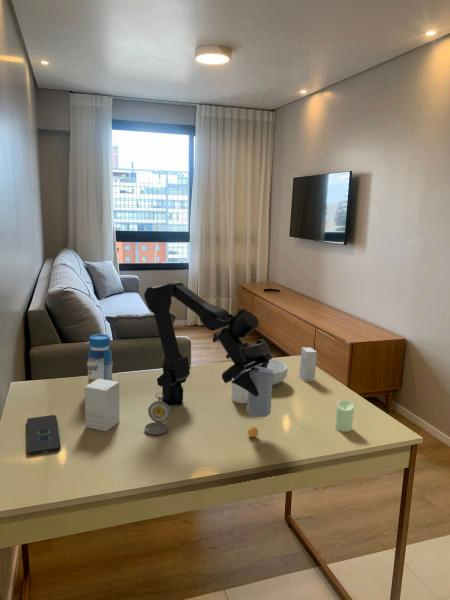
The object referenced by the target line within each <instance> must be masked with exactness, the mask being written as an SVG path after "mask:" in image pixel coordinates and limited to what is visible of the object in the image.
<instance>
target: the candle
mask: <svg viewBox="0 0 450 600" xmlns="http://www.w3.org/2000/svg"><path fill="white" fill-rule="evenodd" d="M354 411H355V405H354V403H353V401H350V400H348V399H341V400H339V401H337V403H336V413H335V423H334V428H335V429H336V430H337V431H339V432H342V433H347V432H351V431H352V430H353V422H354V421H353V420H354Z"/></svg>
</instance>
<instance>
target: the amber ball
mask: <svg viewBox="0 0 450 600" xmlns="http://www.w3.org/2000/svg"><path fill="white" fill-rule="evenodd" d="M258 429H259V428H257V427H255V426H250V427H248V429H247V434H248V436H249V437H250V438H255V437H257V436H258V435H259V430H258Z"/></svg>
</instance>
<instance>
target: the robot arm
mask: <svg viewBox="0 0 450 600" xmlns="http://www.w3.org/2000/svg"><path fill="white" fill-rule="evenodd" d="M143 296H144V297H143V298H144V300H145V302H146V305H147V308H148V309H149V310H150V311H151V312H152V314H153V315H154V318H155V321H156V322H155V323H156V327H157V330H158V334H159V338H160V342H161V347H162V350H163V354H164V360H163V363H162V374H161V375H160V376H159V377H158V378H157V379H156V383H157V385H158V386H159V387H160V388H162V389H161V393H162V394H163V395H164V398H163V395H162V394H161V396H160V397H161V398H162V399H161V401H162V402H165V403H166V404H167V405H168V406H174V405H175V406H176V405H182V404H183V402H182V401H184V387H183V386H182V384H183V383H185V382H187V378H188V377H189V376H190V374H191V372H190V371H191V370H190V369H191V366H190V363H189V359H188V356H183V355H182V354H181V353H180V348H179V345H178V339H177V337H176V332H175V329H174V325H173V321H172V317H171V313H170V309H171V306H172V298H175V299H176V300H177V301H179V302H180V303H181V304H183V305H184V306H186V307H187V308H188V309H189V310H190V311H192V312H193V313H195V314H196V315H197V316H198V319H199V322H201V324H202V325H203V326H204V327H205V328H206V330H208V331H211V332H212V331H216V332H214V333H213V338H212V343H217V342H219V343H220V344H221V346H222V347H223V349H224V351H225V352H226V355H225V358H226V359H227V360H228V359H230V360H231V361H232V363H233V365H230V366H229V367H228V368H227V369H226V370H224V371H223V372H222V373H221V379H222V380H223V382H224V383H225V384H227V383H230V382H231V381H232V378H233V379H234V380H233V381H232V382H231V383H232V384H233V383H235V384H236V385H238V386H240V387H242V388H244V389H245V390H247V391H248V392H250V393H251V394H253V395H255V396H258V395H259V393H258V391H257V389H256V387H255V385H254V383H253V382H252V380H251V378H250V370H248V369H250V368H254V367H265V368H267V366H268V363H269V360H270V359H273V357H272V355H271V353H270V352H269V351H268V349H269V343H268V342H267V341H266V340H265V339H264V338H261V339H258V340H256V342H255V343H256V344H253V345H250V343H249V342H244V341H243V340H242V339H245V338H247V336H249V335H250V334H251V333H252V332H253V331H254V330H256V328H258V327H259V325H260V322H259V319H258V318H257V315H254V313H252V312H250V311H247V309H246V308H241V309H240V310H238V312H237V313H236V314H235V315H234V314H232V313H230V312H229V311H228V310H226V309H225V308H222V307H220V306H218V305H215V304H212V303H209V302H207V301H206V300H204V299H203V298H202V297H200V296H199V295H198V294H197V293H195V292H193V291H192V290H191V289H189V288H188V287H187V286H185V285H184V283H183V282H181V281H174V282H169V283H167V284H165V285H156V286H155V285H154V286H149V287H147V288H146V290H145V291H144V294H143ZM217 330H220V331H217ZM246 370H248V371H246Z"/></svg>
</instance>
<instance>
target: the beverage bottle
mask: <svg viewBox="0 0 450 600" xmlns="http://www.w3.org/2000/svg"><path fill="white" fill-rule="evenodd" d="M110 346H111V336H110V335H108V334H103V333H97V334H91V336H90V335H89V347H90V349H89V350H88V353H87V359H88V360H87V363H86V367H87V385H89V384H90V383H92V382H94V381H95V380H97V379H104V380H109V381H113V365H114V364H113V363H114V361H113V359H112V358H113V353H112V351H111V349H110Z"/></svg>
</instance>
